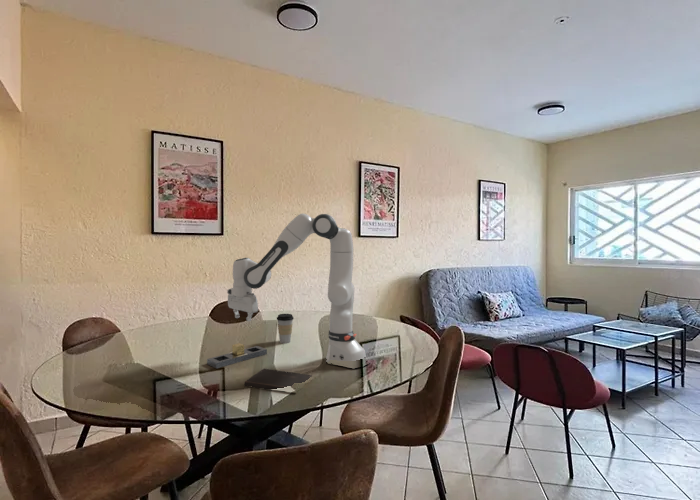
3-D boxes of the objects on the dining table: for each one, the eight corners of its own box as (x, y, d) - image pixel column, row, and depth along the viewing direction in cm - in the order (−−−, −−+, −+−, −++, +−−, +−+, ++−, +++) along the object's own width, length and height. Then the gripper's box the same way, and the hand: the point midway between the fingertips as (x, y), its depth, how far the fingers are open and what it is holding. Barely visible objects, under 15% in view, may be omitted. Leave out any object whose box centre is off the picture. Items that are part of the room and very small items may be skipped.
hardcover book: (263, 373, 178) (263, 368, 178) (312, 380, 171) (312, 375, 171) (244, 387, 163) (244, 381, 162) (296, 395, 156) (296, 389, 156)
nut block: (244, 359, 195) (244, 344, 194) (237, 361, 192) (237, 346, 191) (239, 357, 198) (239, 343, 197) (232, 359, 195) (232, 344, 194)
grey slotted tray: (266, 354, 203) (266, 348, 202) (216, 368, 182) (216, 362, 181) (257, 350, 208) (257, 345, 208) (207, 364, 187) (207, 358, 187)
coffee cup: (284, 345, 218) (284, 318, 217) (272, 342, 223) (272, 315, 222) (297, 341, 225) (297, 315, 224) (285, 338, 231) (285, 312, 230)
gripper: (261, 292, 191) (261, 321, 192) (236, 288, 204) (236, 315, 205) (249, 294, 186) (250, 323, 187) (225, 289, 199) (225, 317, 200)
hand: (243, 319), depth 196 cm, fingers open, 8 cm apart
